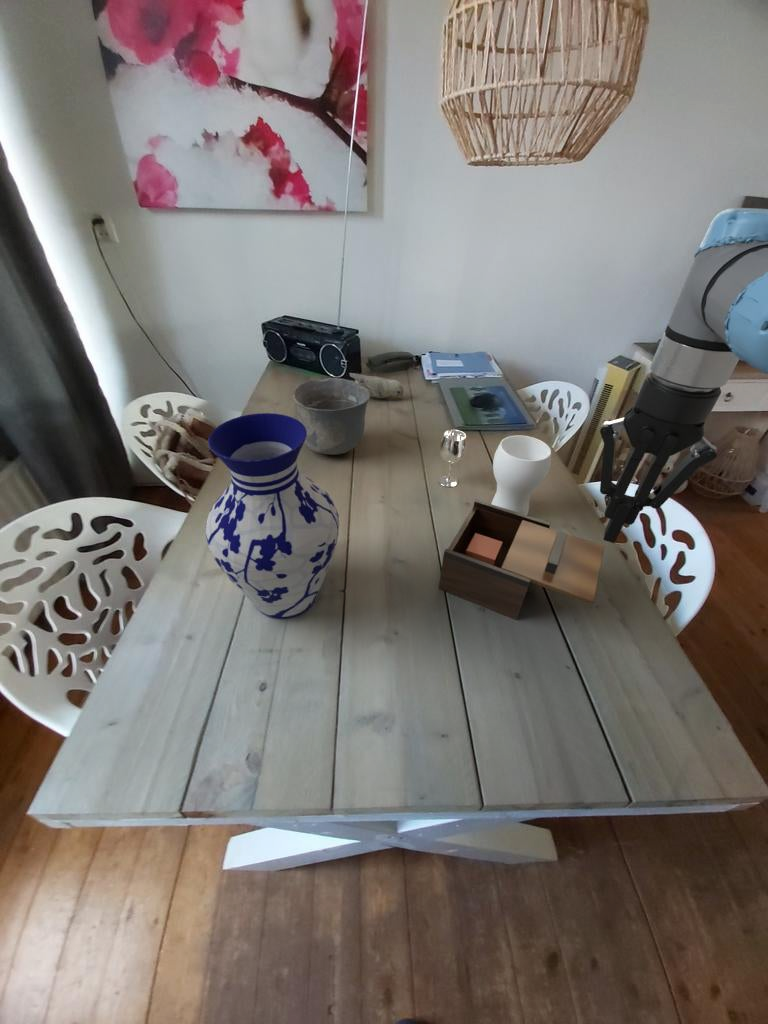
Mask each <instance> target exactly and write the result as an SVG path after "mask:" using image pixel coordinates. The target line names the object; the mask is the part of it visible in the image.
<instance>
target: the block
mask: <svg viewBox="0 0 768 1024" xmlns="http://www.w3.org/2000/svg"><path fill="white" fill-rule="evenodd" d="M502 543H503V542H501V541H498V540H495V539H492V538H489V537H486V536H483V535H480V534H477V533H475V534H474V536H473V538H472V540H471V542H470V544H469V546H468V548H467V550H466V556H468V557H471V558H474V559H476V560H479V561H482V562H485V563H487V564H490V565H493V566H496V564H497V562H498V558H499V555H500V551H501V547H502Z"/></svg>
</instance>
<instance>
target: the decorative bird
mask: <svg viewBox="0 0 768 1024" xmlns="http://www.w3.org/2000/svg"><path fill="white" fill-rule="evenodd" d="M349 377H350V378H352V379H354V382H356V383H359V387H361V386H362V387H365V389H367V390H368V391H369V393H370V398H376V399H385V398H389V397H391V396H393V397H397V398H398V399H400V400H401V401H402V400H403V398H404V387H403V385H402V383H401V382H399V381H398V380H396V379H391V378H389V379H388V378H384V377H380V376H374V375H365V374H361V373H355V372H349Z"/></svg>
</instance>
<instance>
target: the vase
mask: <svg viewBox="0 0 768 1024" xmlns="http://www.w3.org/2000/svg"><path fill="white" fill-rule="evenodd" d="M306 436H307V431H306V428H305V426H304V425H303V424H302V423H301V422H299V421H298V419H297V418H294V417H292V416H289V415H285V414H282V413H281V414H279V413H274V412H273V413H272V412H271V413H270V412H262V413H259V412H258V413H252V414H245V415H241V416H237V417H233V418H232V419H229V420H226V421H225V422H223V423H221V424H219V425H217V427H216V428H214V429H213V430H212V431H211V433H210V434H209V436H208V439H207V445H208V447H209V449H210V450H211V452H212V453H213V454H214V455H216V456H217V458H218V459H219V460H220V461H221V462H222V463H223V464H224V465H225V466H226V467H227V469H228V470H229V473H230V476H231V477H230V483H229V485H228V487H227V488H226V489H225V490H224V492H222V494H220V496H219V497H218V498H217V499H216V500H215V502H214V503H213V505H212V507H211V509H209V512H208V515H207V520H206V523H205V541H206V543H207V546H208V549H209V551H210V553H211V556H212V558H213V560H214V561H215V563H216V564H217V566H219V568H220V569H221V571H222V572H223V573H224V574H225V576H227V577H228V578H229V581H230V582H231V583H232V584H234V586H235V587H236V588H237V589H238V590H239V591H240V593H242V594H243V596H245V598H247V599H248V601H250V603H251V604H252V605H253V606H254V607H255V608H256V610H258V611H259V612H260V613H261V614H263V615H264V616H267V617H269V618H273V619H290V618H294V617H297V616H299V615H302V614H304V613H305V612H307V611H308V610H309V609H311V607H312V606H313V605H314V604H315V603H316V601H317V599H318V598H319V595H320V594H319V593H320V592H321V588H322V586H323V583H324V581H325V578H326V576H327V574H328V571H329V567H330V565H331V563H332V559H333V557H334V553H335V550H336V546H337V544H338V538H339V535H340V533H339V532H340V517H339V512H338V509H337V507H336V505H335V504H336V503H335V502H334V500H333V498H332V497H331V495H329V493H328V492H327V491H326V490H325V489H324V488H323V487H322V486H320V484H318V483H316V482H314V481H313V480H312V479H310V478H309V477H307V476H305V475H304V474H302V473H301V471H300V470H299V468H298V457H299V454H300V452H301V450H302V448H303V446H304V441H305V439H306Z"/></svg>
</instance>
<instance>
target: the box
mask: <svg viewBox="0 0 768 1024" xmlns="http://www.w3.org/2000/svg"><path fill="white" fill-rule="evenodd" d="M522 520H524V521H527V522H531V523H534V524H537V525H540V526H543V527H546V528H549V529H550V527H551V525H552V524H551V522H549V521H545V520H542V519H541V518H540V519H539V518H537V517H533V516H530V515H528V514H527V515H524V514H521V513H517V512H514V511H511V510H508V509H505V508H502V507H498V506H495V505H492V504H491V503H490V502H485V501H482V500H479V499H474V501H473V507H472V508H471V510H470V512H469V513H468V515H467V517H466V518H465V520H464V521H463V523H462V525H461V526H460V528H459V529H458V531H457V533H456V535H455V536H454V538H453V540H452V542H451V543H450V545H449V546H448V548H444V551H443V556H442V563H441V569H440V576H439V583H438V590H440V591H443V592H446V593H448V594H451V595H452V596H456V597H458V598H461V599H463V600H466V601H468V602H470V603H473V604H475V605H478V606H480V607H483V608H485V609H487V610H490V611H493V612H495V613H498V614H500V615H503V616H505V617H508V618H510V619H513V620H515V621H518V617H519V615H520V613H521V609H522V606H523V603H524V601H525V598H526V595H527V592H528V589H529V587H530V584H531V582H530V581H531V579H529V578H526V577H523V576H520V575H518V574H515V573H512V572H509V571H507V570H504V569H501V567H502V565H503V563H504V560H505V558H506V556H507V554H508V551H509V549H510V547H511V544H512V542H513V540H514V538H515V535H516V533H517V531H518V529H519V526H520V524H521V522H522ZM475 533H477V534H480V535H483V536H486V537H489V538H492V539H495V540H498V541H501V542H503V543H502V547H501V551H500V555H499V558H498V562H497V564H496V566H493V565H490V564H487V563H485V562H482V561H479V560H476V559H474V558H471V557H468V556H466V550H467V548H468V546H469V544H470V542H471V540H472V538H473V536H474V534H475Z"/></svg>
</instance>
